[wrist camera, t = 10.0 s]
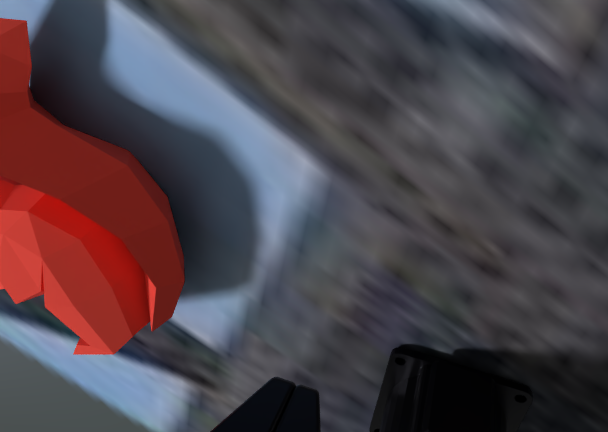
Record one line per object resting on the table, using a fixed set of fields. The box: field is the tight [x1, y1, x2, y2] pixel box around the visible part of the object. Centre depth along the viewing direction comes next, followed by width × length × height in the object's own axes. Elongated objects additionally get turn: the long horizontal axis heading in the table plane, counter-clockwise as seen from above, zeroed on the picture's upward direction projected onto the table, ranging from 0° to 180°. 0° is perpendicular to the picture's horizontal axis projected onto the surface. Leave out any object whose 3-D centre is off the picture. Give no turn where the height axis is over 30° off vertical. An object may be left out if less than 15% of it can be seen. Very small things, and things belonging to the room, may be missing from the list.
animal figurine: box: [0, 18, 185, 354], centre depth 25 cm, size 12×15×5 cm
